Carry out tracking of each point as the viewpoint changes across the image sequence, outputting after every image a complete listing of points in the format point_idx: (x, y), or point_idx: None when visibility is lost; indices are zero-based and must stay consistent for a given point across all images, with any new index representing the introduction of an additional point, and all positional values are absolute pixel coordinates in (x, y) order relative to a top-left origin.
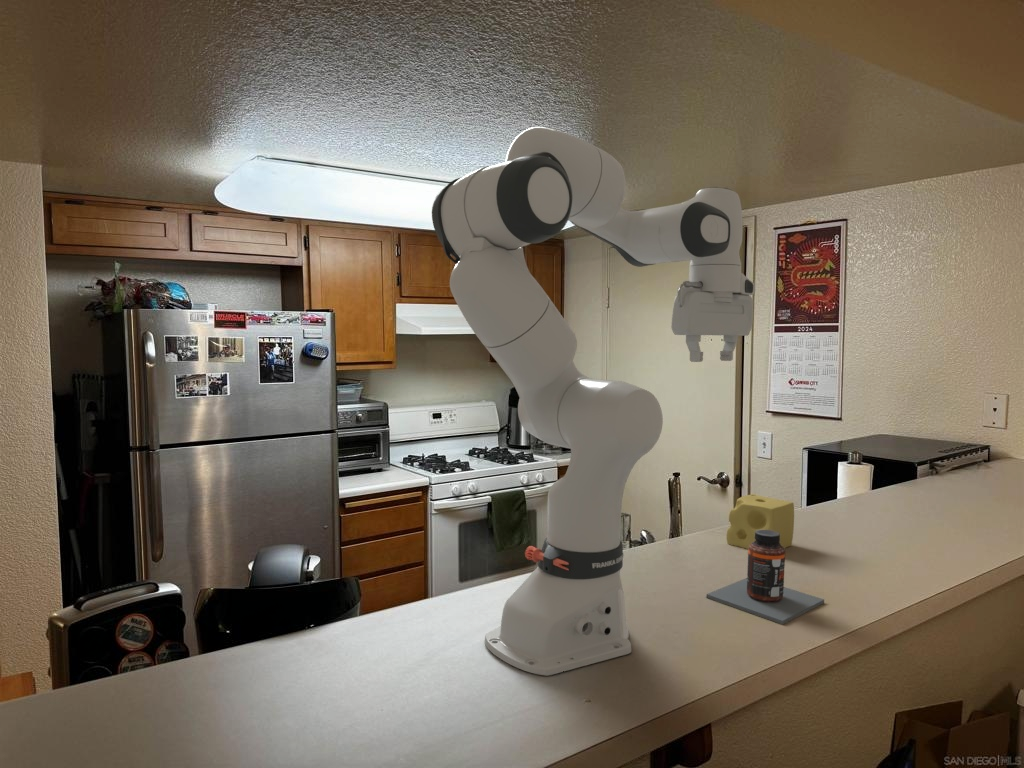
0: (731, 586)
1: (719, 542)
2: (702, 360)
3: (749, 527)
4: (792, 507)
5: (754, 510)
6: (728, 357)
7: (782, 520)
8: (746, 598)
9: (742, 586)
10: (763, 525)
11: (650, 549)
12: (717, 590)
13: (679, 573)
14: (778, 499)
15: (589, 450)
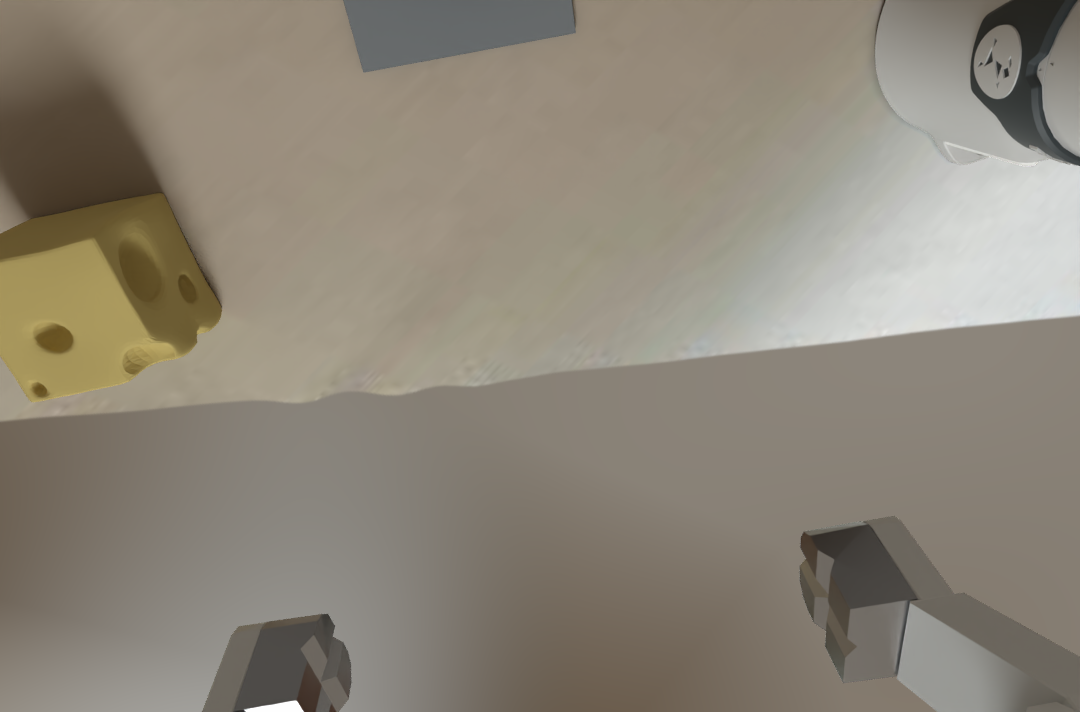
0: (471, 40)
1: (235, 328)
2: (809, 533)
3: (166, 278)
4: None
5: (131, 292)
6: (315, 633)
7: (44, 237)
8: None
9: (444, 23)
10: (127, 251)
11: (452, 360)
12: (529, 38)
13: (509, 199)
14: None
15: None
